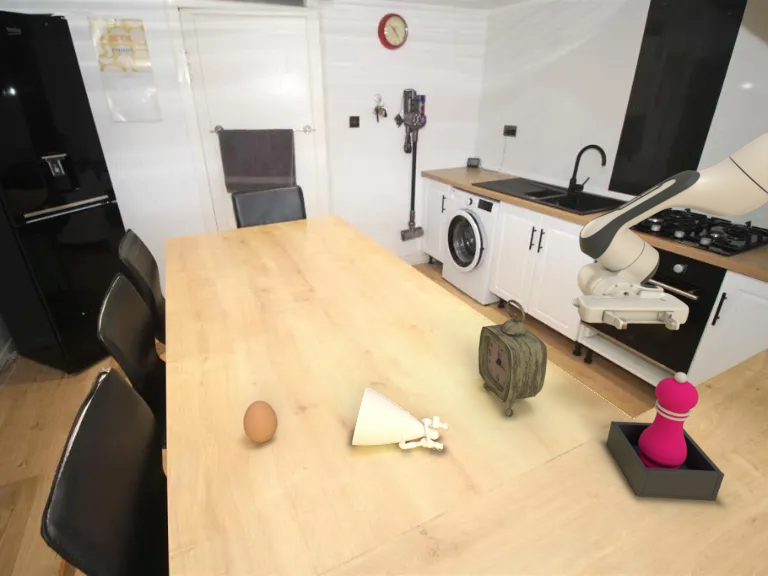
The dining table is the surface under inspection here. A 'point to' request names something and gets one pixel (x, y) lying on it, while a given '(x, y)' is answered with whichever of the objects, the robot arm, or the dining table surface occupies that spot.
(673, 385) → the pepper mill
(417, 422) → the rocket engine
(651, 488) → the bin
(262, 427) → the egg
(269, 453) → the dining table surface
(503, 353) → the tabletop clock
